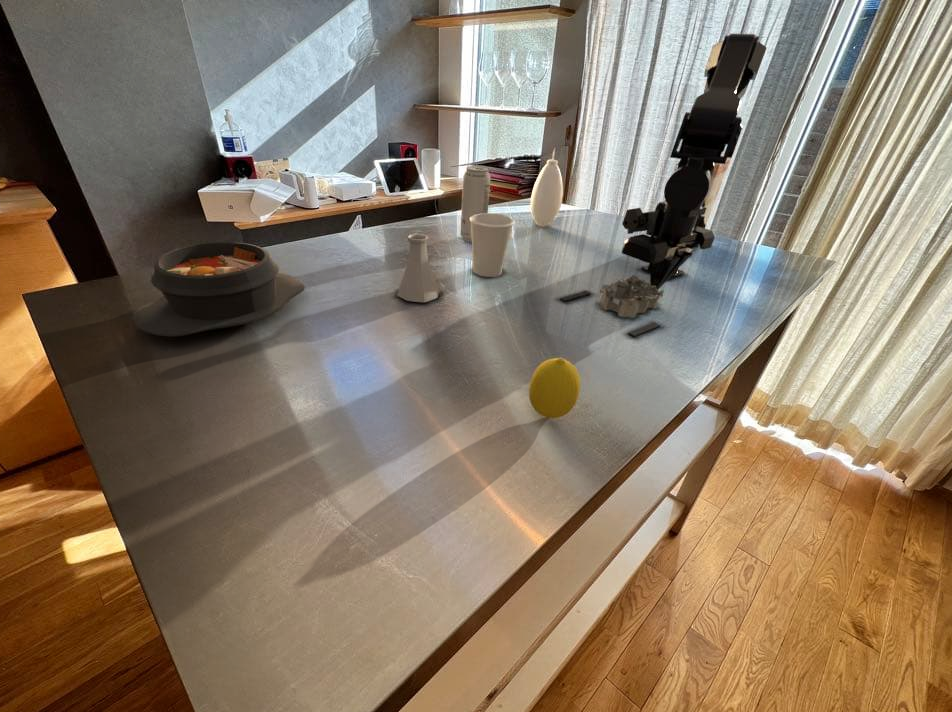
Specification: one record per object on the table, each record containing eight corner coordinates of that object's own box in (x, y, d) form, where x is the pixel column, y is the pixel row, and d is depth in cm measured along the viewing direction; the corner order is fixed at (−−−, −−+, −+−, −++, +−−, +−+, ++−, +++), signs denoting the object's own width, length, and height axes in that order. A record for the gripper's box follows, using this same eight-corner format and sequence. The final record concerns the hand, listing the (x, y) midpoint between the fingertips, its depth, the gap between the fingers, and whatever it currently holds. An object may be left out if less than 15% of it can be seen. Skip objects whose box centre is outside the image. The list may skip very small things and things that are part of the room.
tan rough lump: (626, 321, 73) (634, 298, 71) (591, 304, 78) (597, 282, 76) (663, 307, 79) (671, 285, 76) (628, 292, 83) (634, 271, 81)
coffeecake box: (672, 235, 116) (701, 151, 104) (701, 242, 112) (734, 155, 101) (656, 249, 106) (685, 157, 94) (686, 256, 103) (721, 162, 91)
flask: (446, 292, 79) (448, 235, 73) (426, 307, 74) (427, 246, 68) (410, 283, 81) (410, 227, 75) (389, 297, 76) (386, 238, 70)
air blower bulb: (526, 228, 114) (537, 148, 103) (528, 220, 120) (538, 144, 109) (557, 231, 113) (571, 151, 102) (556, 223, 119) (570, 146, 108)
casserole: (262, 273, 81) (251, 226, 76) (332, 302, 73) (325, 252, 68) (112, 320, 64) (85, 264, 59) (181, 364, 56) (157, 303, 51)
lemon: (520, 402, 54) (530, 345, 49) (564, 402, 54) (578, 345, 49) (529, 432, 49) (541, 373, 45) (577, 432, 50) (594, 373, 45)
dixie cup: (486, 282, 83) (492, 228, 77) (457, 269, 88) (460, 216, 82) (516, 273, 88) (524, 221, 82) (487, 261, 93) (492, 210, 87)
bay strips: (585, 292, 82) (586, 290, 82) (659, 326, 72) (660, 325, 72) (559, 299, 79) (559, 298, 79) (633, 337, 69) (634, 335, 69)
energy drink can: (461, 234, 107) (465, 164, 98) (486, 236, 106) (492, 167, 97) (458, 241, 102) (461, 169, 93) (484, 244, 102) (490, 171, 92)
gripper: (673, 184, 81) (646, 267, 91) (608, 192, 72) (586, 284, 81) (732, 197, 74) (696, 286, 84) (668, 208, 65) (637, 307, 74)
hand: (653, 289), depth 81 cm, fingers closed
